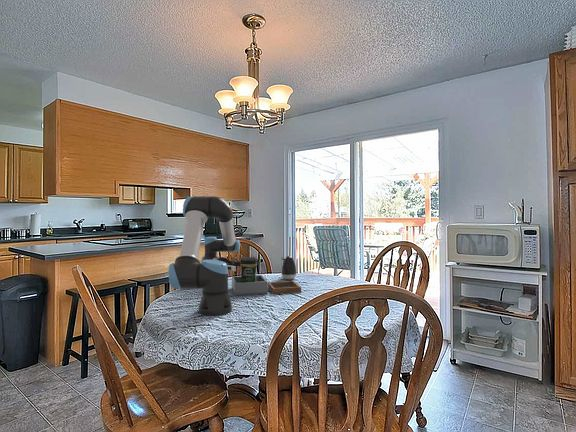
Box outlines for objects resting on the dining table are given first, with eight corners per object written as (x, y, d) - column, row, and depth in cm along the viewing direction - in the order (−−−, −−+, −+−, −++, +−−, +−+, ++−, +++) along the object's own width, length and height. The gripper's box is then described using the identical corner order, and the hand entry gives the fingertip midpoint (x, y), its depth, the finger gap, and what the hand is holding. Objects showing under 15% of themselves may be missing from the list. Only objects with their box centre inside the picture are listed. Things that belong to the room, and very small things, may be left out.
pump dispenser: (278, 277, 229) (278, 255, 228) (292, 276, 233) (292, 254, 232) (284, 281, 219) (284, 257, 219) (299, 279, 224) (299, 256, 223)
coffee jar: (239, 291, 190) (238, 258, 189) (241, 287, 198) (241, 255, 197) (256, 291, 189) (255, 258, 189) (258, 287, 197) (258, 256, 196)
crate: (267, 294, 187) (267, 281, 187) (234, 296, 183) (234, 283, 182) (262, 286, 204) (261, 274, 204) (231, 288, 200) (231, 276, 200)
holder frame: (301, 292, 191) (301, 286, 191) (273, 294, 187) (273, 288, 187) (293, 285, 206) (293, 280, 206) (267, 287, 202) (267, 282, 202)
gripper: (235, 266, 219) (259, 270, 206) (204, 272, 200) (227, 277, 186) (235, 254, 219) (259, 258, 205) (203, 259, 200) (227, 263, 186)
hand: (244, 267), depth 196 cm, fingers open, 13 cm apart
